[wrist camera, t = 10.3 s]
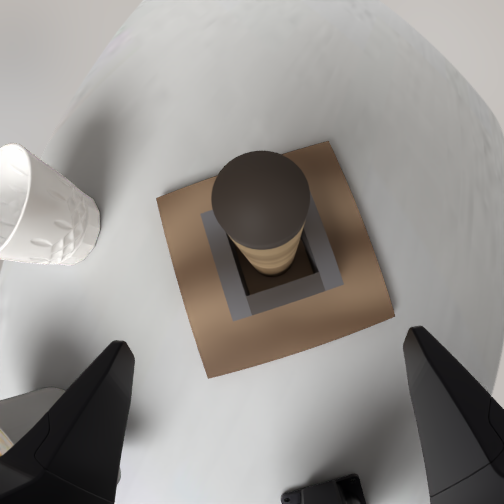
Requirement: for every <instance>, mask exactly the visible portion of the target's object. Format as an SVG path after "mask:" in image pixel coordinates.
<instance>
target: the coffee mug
mask: <svg viewBox="0 0 504 504" xmlns="http://www.w3.org/2000/svg"><path fill="white" fill-rule="evenodd" d="M64 392H65V390H63V389H60V388H56V387H46V388H42V389H39V390H35V391H32V392H29V393H25V394H22V395H18V396H15V397H11V398H7V399H4V400H0V456H2V455H3V454H4V453H6V452H7V451H8V450H9V449H10V448H11V447H12V446H13V445H14V444H15V443H16V442H18V441H19V440H20V439H21V438H22V437H23V436H24V435H25V434H26V433H27V432H28V431H29V430H30V429H31V428H32V427H33V426H34V425H35V424H36V423H37V422H38V421H39V420H40V419H41V418H42V417H43V415H44V414H45V413H46V412H47V411H49V409H50V408H51V407H52V406H53V404H54V403H55V402H56V401H57V400H58V399H59V398H60V397H61V396H62V395H63V393H64ZM120 478H121V470H120V466H119V473H118V480H117V484H118V483H119V481H120Z"/></svg>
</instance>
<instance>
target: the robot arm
mask: <svg viewBox="0 0 504 504" xmlns="http://www.w3.org/2000/svg"><path fill="white" fill-rule="evenodd" d="M403 351H404V357H405V363H406V370H407V377H408V385H409V391H410V396H411V400H412V404H413V408H414V413H415V417H416V422H417V426H418V431H419V436H420V441H421V446H422V451H423V457H424V462H425V468H426V474H427V480H428V487H429V494H430V502H431V504H504V409H503V408H502V407H501V406H500V405H499V404H498V403H497V402H496V401H495V400H494V398H493V397H491V395H490V394H489V393H488V392H487V391H486V390H485V389H484V388H483V387H482V386H481V385H480V383H479V382H478V381H477V380H476V379H475V378H474V377H473V376H472V375H471V374H470V373H469V372H468V371H467V370H466V369H465V368H464V367H463V366H462V365H461V364H460V363H459V362H458V361H457V360H456V359H455V358H454V357H453V356H452V355H451V354H450V353H449V351H448V350H447V349H446V348H445V347H444V346H443V345H441V344H440V343H439V342H438V341H437V340H436V339H435V338H434V337H433V336H432V335H431V334H430V333H429V332H428V331H427V330H426V329H425V328H424V327H423V326H414V327H411V328H410V329H409V330H408V333H407V336H406V338H405V341H404V344H403ZM134 364H135V358H134V355H133V353H132V351H131V350H130V348H129V346H128V345H127V343H126V342H125V341H118V340H115V341H113V342H111V343H110V344H109V345H108V346H107V347H106V349H105V350H104V351H103V352H102V353H101V354H100V355H99V356H98V357H97V358H96V359H95V360H94V361H93V362H92V363H91V364H90V365H89V366H88V368H87V369H86V370H85V371H84V372H83V373H82V374H81V375H80V376H79V377H78V378H77V379H76V380H75V382H74V383H73V384H72V385H71V386H70V387H69V388H68V389H67V390H66V391H65V392H64V393H63V395H62V396H61V397H60V398H59V399H58V400H57V401H56V402H55V403H54V404H53V406H52V407H51V408H50V409H49V411H47V412H46V413H45V414H44V415H43V417H42V418H41V419H40V420H39V421H38V422H37V423H36V424H35V425H34V426H33V427H32V428H31V429H30V430H29V431H28V432H27V433H26V434H25V435H24V436H23V437H22V438H21V439H20V440H19V441H18V442H16V443H15V444H14V445H13V446H12V447H11V448H10V449H9V450H8V451H7V452H6V453H4V454H3V455H2V456H0V504H114V502H115V495H116V487H117V480H118V473H119V466H120V460H121V453H122V447H123V441H124V436H125V430H126V425H127V419H128V414H129V409H130V403H131V395H132V384H133V374H134ZM354 478H355V480H354V481H351V479H354ZM285 498H289V499H288V500H286V499H285ZM281 503H282V504H366V502H365V498H364V494H363V491H362V487H361V483H360V479H359V477H358V475H356V474H351V475H348V476H345V477H342V478H339V479H336V480H331V481H327V482H324V483H321V484H317V485H314V486H310V487H307V488H303V489H301V490H297V491H293V492H289V493H285V494H283V495H282V496H281Z"/></svg>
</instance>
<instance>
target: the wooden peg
mask: <svg viewBox="0 0 504 504" xmlns="http://www.w3.org/2000/svg"><path fill="white" fill-rule="evenodd" d="M211 203H212V209H213V212H214V215H215V217H216V219H217V221H218V223H219V224H220V226H221V227H222V228H223V229H224V231H225V232H226V233H227V234H228V236H229V237H230V238H231V239H232V241H233V242H234V243H235V244H236V246H237V247H238V248H239V249H240V250H241V252H242V253H243V254H244V255H245V257H246V258H247V259H248V260H249V262H250V263H251V264H252V265H253V267H254V268H255V269H256V270H257V271H258V272H259V273H260V274H262V275H264V276H267V277H277V276H281V275H283V274H284V273H286V272H287V271H288V270H289V269H290V267H291V266H292V264H293V261H294V257H295V254H296V251H297V247H298V244H299V241H300V237H301V234H302V230H303V227H304V223H305V220H306V216H307V213H308V209H309V205H310V189H309V184H308V181H307V179H306V177H305V175H304V173H303V172H302V170H301V169H300V168H299V167H298V166H297V165H296V164H295V163H294V162H293V161H292V160H290V159H289V158H287V157H285V156H283V155H281V154H278V153H275V152H270V151H254V152H249V153H245V154H243V155H240V156H238V157H236V158H234V159H233V160H231V161H230V162H229V163H228V164H227V165H225V166H224V168H223V169H222V170H221V171H220V173H219V174H218V176H217V178H216V180H215V182H214V185H213V188H212V194H211Z"/></svg>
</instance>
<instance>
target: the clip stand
mask: <svg viewBox="0 0 504 504" xmlns="http://www.w3.org/2000/svg"><path fill="white" fill-rule="evenodd" d="M281 155H283V156H285V157H287V158H289V159H290V160H292V161H293V162H294V163H295V164H296V165H297V166H298V167H299V168H300V169H301V170H302V172H303V173H304V175H305V177H306V179H307V181H308V184H309V189H310V205H309V209H308V213H307V216H306V220H305V223H304V227H303V230H302V234H301V237H300V241H299V244H298V247H297V251H296V254H295V257H294V261H293V264H292V266H291V267H290V269H289V270H288V271H287V272H286V273H284V274H283V275H281V276H277V277H267V276H264V275H262V274H260V273H259V272H258V271H257V270H256V269H255V268H254V267H253V265H252V264H251V263H250V262H249V260H248V259H247V258H246V257H245V255H244V254H243V253H242V252H241V250H240V249H239V248H238V247H237V246H236V244H235V243H234V242H233V241H232V239H231V238H230V237H229V236H228V234H227V233H226V232H225V231H224V229H223V228H222V227H221V226H220V224H219V223H218V221H217V219H216V217H215V215H214V212H213V209H212V203H211V194H212V188H213V185H214V182H215V180H216V178H217V176H218V175H217V176H215V177H212V178H209V179H206V180H203V181H201V182H198V183H195V184H192V185H190V186H187V187H184V188H182V189H179V190H176V191H174V192H171V193H168V194H166V195H163V196H161V197H158V198H156V200H157V204H158V208H159V212H160V216H161V221H162V225H163V229H164V233H165V237H166V240H167V244H168V248H169V252H170V256H171V259H172V263H173V267H174V270H175V274H176V278H177V281H178V285H179V288H180V292H181V295H182V299H183V302H184V305H185V309H186V312H187V315H188V319H189V322H190V325H191V328H192V331H193V335H194V338H195V341H196V344H197V347H198V350H199V353H200V356H201V359H202V362H203V365H204V368H205V371H206V374H207V377H208V379H209V378H213V377H217V376H221V375H224V374H228V373H232V372H236V371H239V370H243V369H246V368H250V367H253V366H257V365H260V364H264V363H267V362H270V361H273V360H277V359H280V358H283V357H286V356H289V355H293V354H296V353H299V352H302V351H305V350H308V349H311V348H314V347H316V346H319V345H322V344H325V343H328V342H331V341H333V340H336V339H339V338H342V337H344V336H347V335H350V334H352V333H355V332H358V331H360V330H363V329H365V328H368V327H370V326H373V325H375V324H378V323H380V322H383V321H385V320H388V319H390V318H393V317H395V314H394V310H393V307H392V304H391V300H390V297H389V294H388V291H387V288H386V285H385V282H384V279H383V276H382V273H381V270H380V267H379V264H378V261H377V258H376V255H375V252H374V250H373V247H372V244H371V241H370V239H369V236H368V233H367V231H366V228H365V225H364V223H363V220H362V217H361V215H360V212H359V210H358V207H357V205H356V202H355V200H354V197H353V195H352V193H351V190H350V188H349V185H348V183H347V181H346V178H345V176H344V174H343V172H342V169H341V167H340V165H339V162H338V160H337V158H336V156H335V154H334V151H333V149H332V147H331V145H330V143H329V141H326V142H323V143H319V144H315V145H312V146H308V147H305V148H301V149H298V150H295V151H291V152H288V153H285V154H281Z"/></svg>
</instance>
